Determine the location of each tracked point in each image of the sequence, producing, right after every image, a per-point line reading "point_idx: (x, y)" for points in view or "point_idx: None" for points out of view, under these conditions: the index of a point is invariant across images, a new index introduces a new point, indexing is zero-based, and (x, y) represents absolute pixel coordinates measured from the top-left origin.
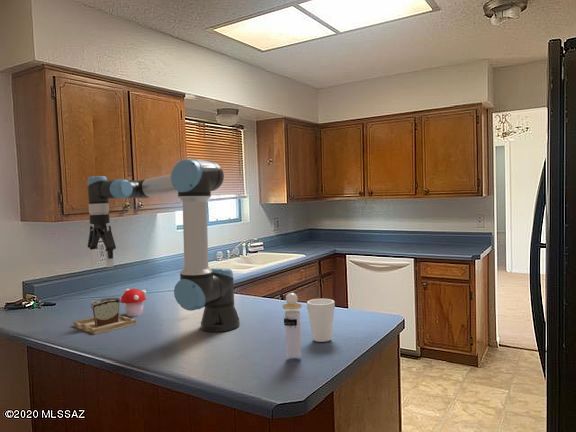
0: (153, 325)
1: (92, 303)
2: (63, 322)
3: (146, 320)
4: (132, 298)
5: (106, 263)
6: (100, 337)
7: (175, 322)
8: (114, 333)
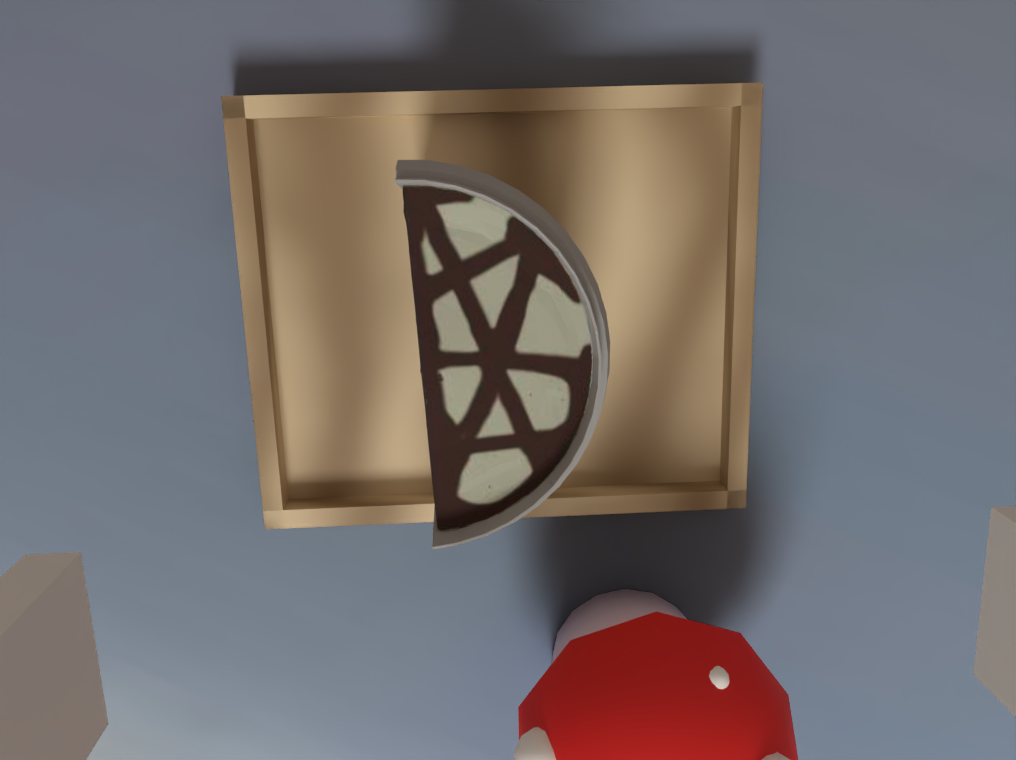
0: (98, 591)
1: (423, 179)
2: (1005, 77)
3: (327, 631)
4: (549, 717)
5: (10, 606)
6: (84, 90)
7: None
8: (118, 241)
